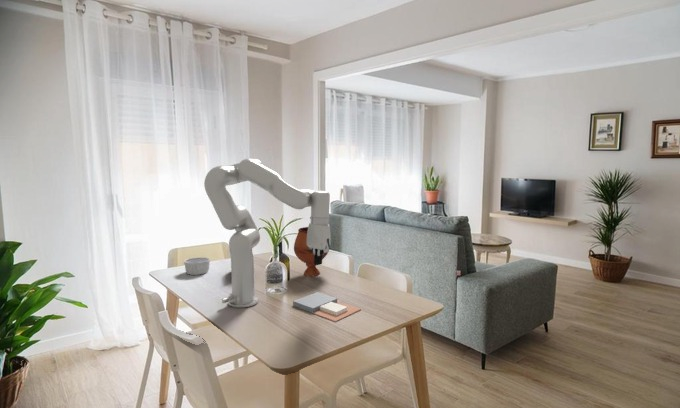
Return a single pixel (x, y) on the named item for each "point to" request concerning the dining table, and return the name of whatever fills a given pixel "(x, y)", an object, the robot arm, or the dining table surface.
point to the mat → (336, 318)
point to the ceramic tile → (333, 308)
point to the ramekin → (197, 265)
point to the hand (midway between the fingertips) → (318, 264)
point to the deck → (313, 301)
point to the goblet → (305, 252)
